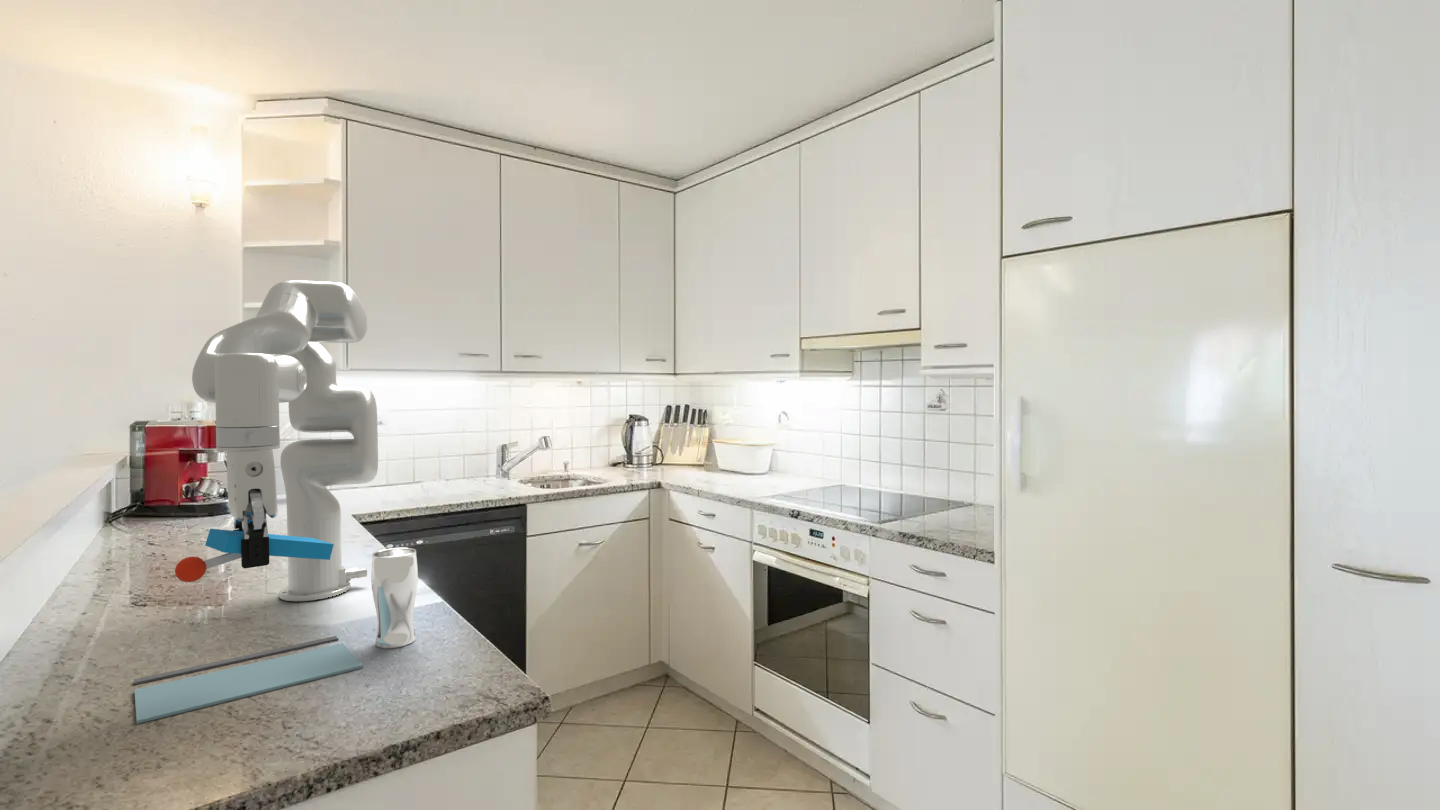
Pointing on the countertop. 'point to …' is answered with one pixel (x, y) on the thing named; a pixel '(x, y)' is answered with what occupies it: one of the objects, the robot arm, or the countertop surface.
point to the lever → (231, 545)
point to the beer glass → (394, 595)
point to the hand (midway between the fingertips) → (251, 560)
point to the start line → (232, 660)
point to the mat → (241, 682)
